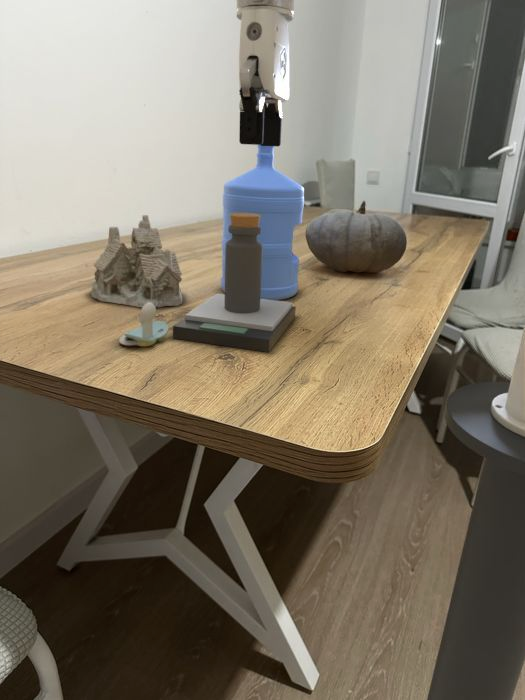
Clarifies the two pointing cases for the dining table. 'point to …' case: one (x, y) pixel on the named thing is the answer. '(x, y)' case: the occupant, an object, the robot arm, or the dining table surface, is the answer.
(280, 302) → the scale
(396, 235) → the gourd
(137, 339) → the pacifier
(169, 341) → the dining table surface
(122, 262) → the ceramic cottage
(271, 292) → the water jug
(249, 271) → the bottle
